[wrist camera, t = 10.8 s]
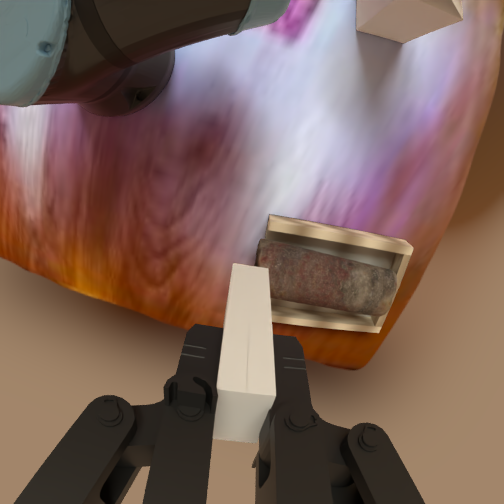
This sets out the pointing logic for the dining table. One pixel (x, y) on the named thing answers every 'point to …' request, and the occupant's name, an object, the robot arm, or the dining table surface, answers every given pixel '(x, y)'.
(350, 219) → the dining table surface
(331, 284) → the candle
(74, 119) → the dining table surface
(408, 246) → the tray
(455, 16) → the milk carton
